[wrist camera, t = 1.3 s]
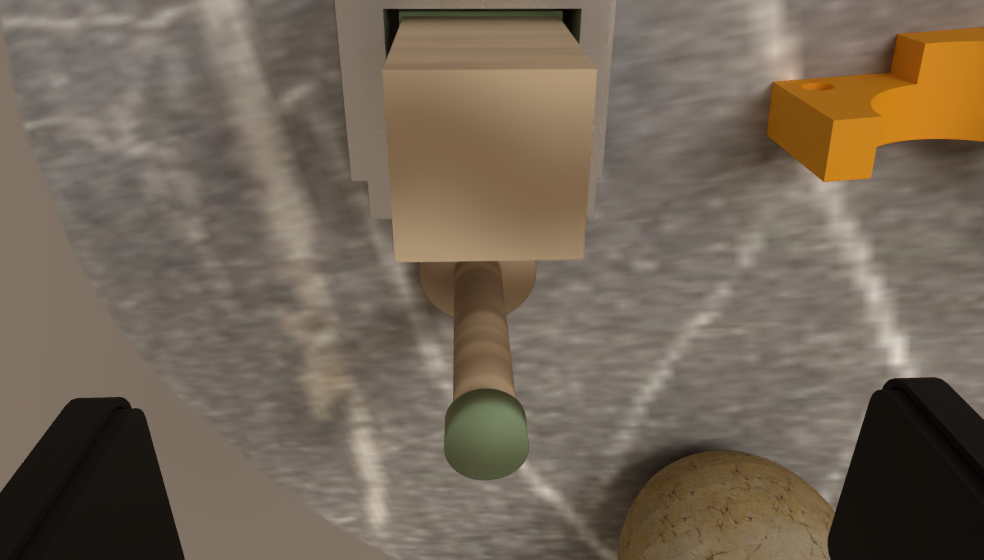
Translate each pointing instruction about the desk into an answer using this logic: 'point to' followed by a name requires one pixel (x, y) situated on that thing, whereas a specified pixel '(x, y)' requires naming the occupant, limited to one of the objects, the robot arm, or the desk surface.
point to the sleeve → (365, 47)
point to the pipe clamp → (883, 105)
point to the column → (488, 135)
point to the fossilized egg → (726, 512)
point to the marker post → (482, 363)
